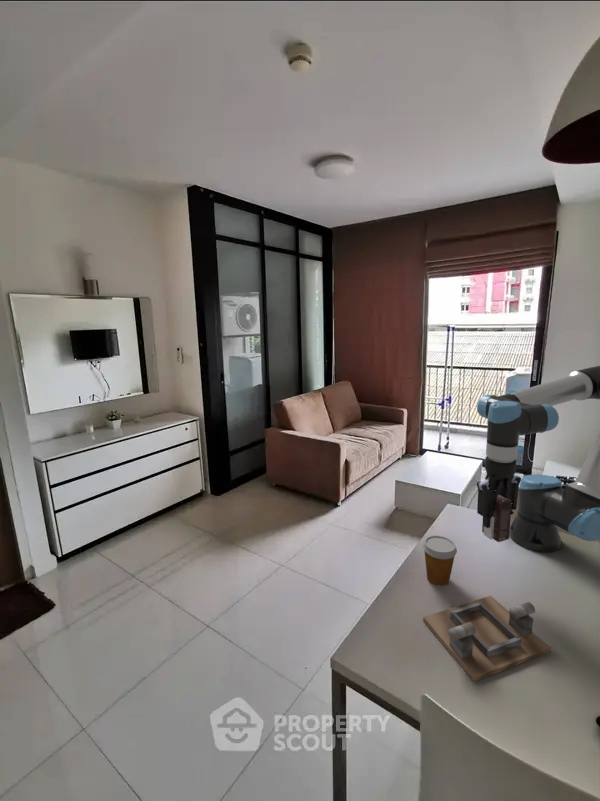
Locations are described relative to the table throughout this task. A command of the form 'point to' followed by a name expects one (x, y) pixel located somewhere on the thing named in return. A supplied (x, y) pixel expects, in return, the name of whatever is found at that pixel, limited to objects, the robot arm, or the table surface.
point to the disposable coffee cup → (439, 559)
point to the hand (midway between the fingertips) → (495, 534)
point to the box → (501, 518)
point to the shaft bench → (487, 636)
